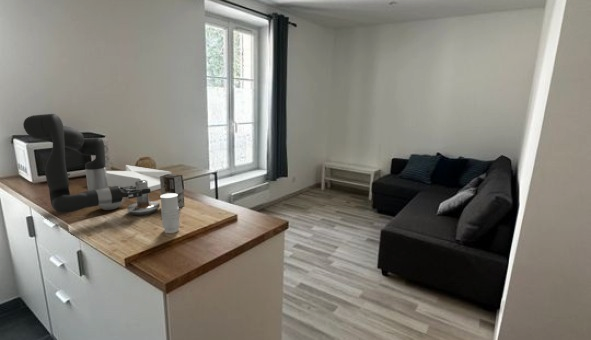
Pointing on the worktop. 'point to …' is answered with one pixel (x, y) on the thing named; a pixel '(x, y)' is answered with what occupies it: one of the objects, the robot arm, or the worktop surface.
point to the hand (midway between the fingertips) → (147, 188)
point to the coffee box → (173, 186)
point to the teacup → (112, 205)
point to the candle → (170, 212)
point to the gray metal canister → (144, 199)
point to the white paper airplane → (136, 177)
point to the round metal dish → (143, 209)
